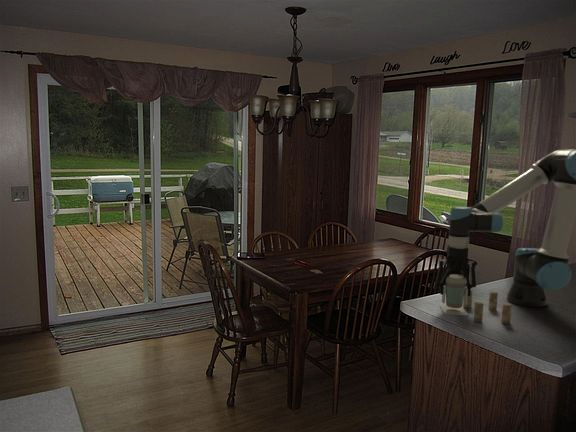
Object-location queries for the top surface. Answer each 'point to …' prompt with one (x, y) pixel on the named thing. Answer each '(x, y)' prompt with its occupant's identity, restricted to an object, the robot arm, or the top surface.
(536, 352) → the top surface
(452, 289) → the coffee cup
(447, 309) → the felt mat
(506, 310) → the spacer posts
